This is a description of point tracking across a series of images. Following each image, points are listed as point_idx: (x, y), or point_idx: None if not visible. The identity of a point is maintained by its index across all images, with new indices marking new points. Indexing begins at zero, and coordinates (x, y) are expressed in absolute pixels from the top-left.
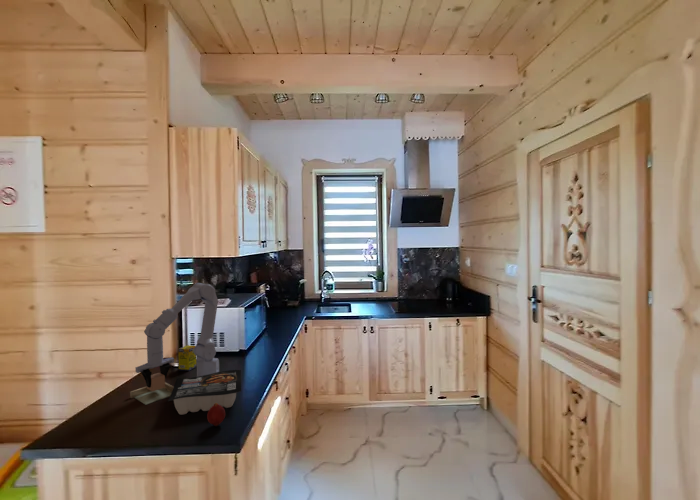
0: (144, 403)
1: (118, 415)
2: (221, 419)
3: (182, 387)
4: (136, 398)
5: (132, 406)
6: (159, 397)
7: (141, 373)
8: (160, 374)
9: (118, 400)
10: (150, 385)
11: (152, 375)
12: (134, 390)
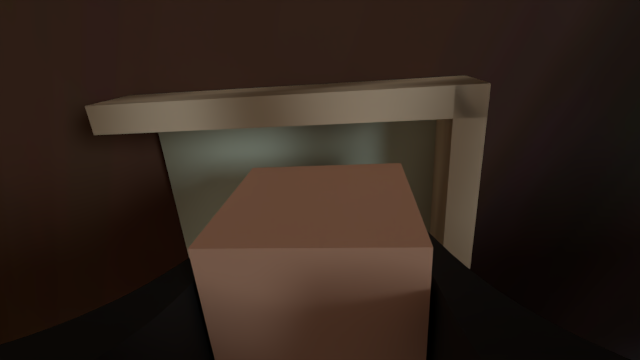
0: None
1: (49, 325)
2: None
3: None
4: (169, 178)
5: (131, 276)
6: None
7: (15, 347)
8: (401, 340)
9: (36, 65)
10: None
11: (284, 278)
12: (131, 109)
